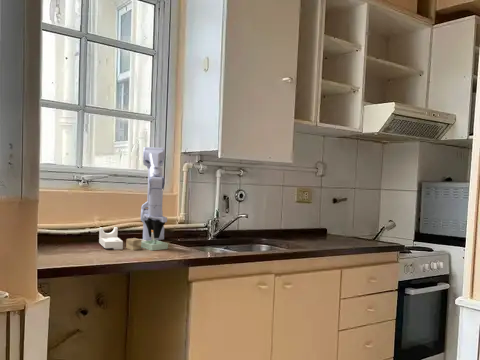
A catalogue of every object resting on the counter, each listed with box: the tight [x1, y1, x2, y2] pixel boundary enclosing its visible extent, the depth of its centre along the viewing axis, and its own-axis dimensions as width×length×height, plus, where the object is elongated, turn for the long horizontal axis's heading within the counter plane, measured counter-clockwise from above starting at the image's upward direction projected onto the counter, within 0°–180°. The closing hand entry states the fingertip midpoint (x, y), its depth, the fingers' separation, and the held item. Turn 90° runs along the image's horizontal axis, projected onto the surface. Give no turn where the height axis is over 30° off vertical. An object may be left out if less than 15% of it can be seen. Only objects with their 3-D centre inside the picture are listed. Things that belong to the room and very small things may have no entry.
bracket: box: [98, 226, 124, 251], centre depth 192 cm, size 13×7×8 cm, turn 27°
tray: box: [141, 240, 169, 251], centre depth 194 cm, size 8×9×2 cm
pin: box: [151, 230, 156, 244], centre depth 194 cm, size 2×2×7 cm
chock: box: [125, 237, 142, 251], centre depth 190 cm, size 4×5×4 cm
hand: (154, 237), depth 194 cm, fingers open, 3 cm apart
